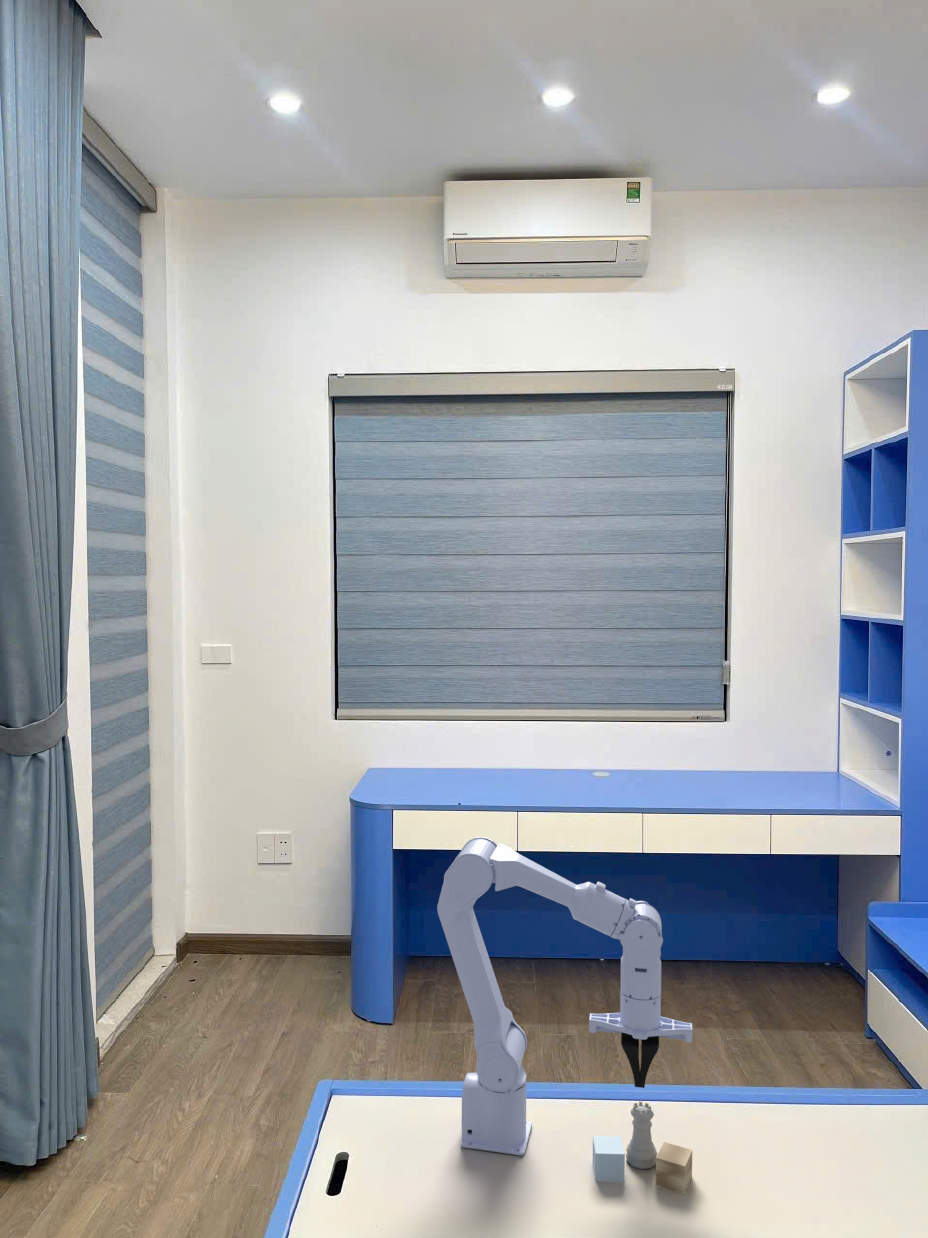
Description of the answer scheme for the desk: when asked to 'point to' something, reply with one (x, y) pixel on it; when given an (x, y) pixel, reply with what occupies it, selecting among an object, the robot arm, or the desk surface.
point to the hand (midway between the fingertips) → (639, 1084)
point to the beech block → (674, 1167)
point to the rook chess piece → (641, 1138)
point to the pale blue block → (608, 1158)
